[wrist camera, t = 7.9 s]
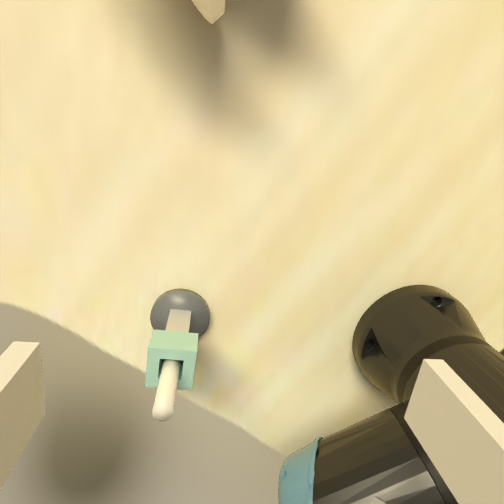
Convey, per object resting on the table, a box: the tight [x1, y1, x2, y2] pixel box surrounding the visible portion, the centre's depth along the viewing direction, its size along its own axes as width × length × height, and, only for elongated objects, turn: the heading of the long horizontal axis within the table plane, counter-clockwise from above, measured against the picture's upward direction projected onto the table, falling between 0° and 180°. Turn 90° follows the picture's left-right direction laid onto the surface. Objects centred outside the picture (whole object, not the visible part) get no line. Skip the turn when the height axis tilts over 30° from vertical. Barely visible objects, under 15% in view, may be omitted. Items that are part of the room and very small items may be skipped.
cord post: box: [150, 289, 209, 421], centre depth 35 cm, size 7×7×16 cm
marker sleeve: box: [145, 330, 199, 390], centre depth 34 cm, size 4×4×3 cm
